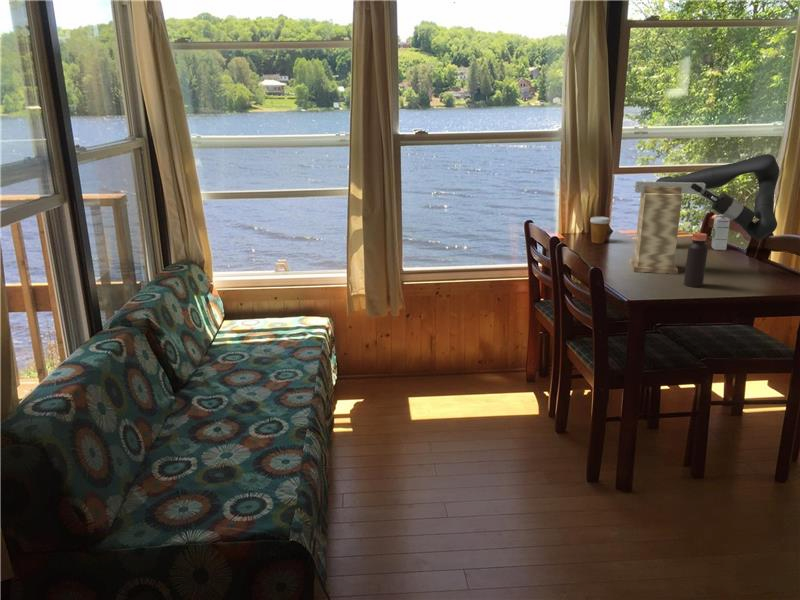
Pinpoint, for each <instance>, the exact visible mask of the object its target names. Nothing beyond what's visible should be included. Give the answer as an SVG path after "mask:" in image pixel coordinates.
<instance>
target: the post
mask: <svg viewBox="0 0 800 600" xmlns="http://www.w3.org/2000/svg"><path fill="white" fill-rule="evenodd" d="M681 192H682V187H645V189H644V193H640V199H639V209H638V216H637V217H638V219H637V226H636V227H637V228H636V234H635V235H636V237H635V247H634V257H633V258H629V262H628V263H629V265H630V267H631V269H632V271H633V273H644V272H651V273H650V274H666V273H669V274H670V275H672V274H673V275H678V273H679V269H678V267H677V266H676V264H675V260H676V259H675V258H676V251H677V243H678V234H679V225H680V219H681V209H682V202H683V194H681ZM669 274H668V275H669Z"/></svg>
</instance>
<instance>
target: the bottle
mask: <svg viewBox="0 0 800 600" xmlns="http://www.w3.org/2000/svg"><path fill="white" fill-rule="evenodd" d="M707 237H708V234H707V233H704V232H693V233H692V239H691V240H692V243H691V244H689V245H688V247H687V248H688V249H687V255H686V257H687V258H686V263H685V271H684V279H683V284H684V285H685V286H687V287H690V286H691V288H701V287H703V286H704V280H705V279H704V278H705V271H706V266H707V265H706V264H707V257H708V246H707V245H706V242H707Z"/></svg>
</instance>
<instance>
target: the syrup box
mask: <svg viewBox="0 0 800 600" xmlns="http://www.w3.org/2000/svg"><path fill="white" fill-rule="evenodd" d="M730 223H731V219H728V218H726V217H725V216H721V217H720V216H717V217H714V219H713V226H712V235H711V245H710V248H711V249H712V250H717V251H718V250H720V251H726V250H727V246H728V245H727V244H728V237H729V230H730Z"/></svg>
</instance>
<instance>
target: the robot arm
mask: <svg viewBox="0 0 800 600" xmlns="http://www.w3.org/2000/svg"><path fill="white" fill-rule="evenodd" d="M751 173H754V176H755V178H756V180H757V183H758V193H757V194H756V197H755V200H754V208H753V210H751V209H750V208H749V207H747V206H745V205H743V204H742V203H741V202H739V201H738V200H737V199H735V198H733V197H732V196H730V195H728V194H727V193H726V192H722V193H721V194H719V195H718V194H717V193H715V192H714V191H711V190H712V189H717V188H721V187H724V186H726V185H728V184H729V183H730V182H732V181H733V180H734V179H735V178H738V177H739V176H741V175H742V176H743V175H746V174H751ZM779 176H780V166H779V164H778V162H777V159H776V157H775V156H774V155H772V154H769V153H766V154H760V155H756V156H753V157H748V158H746V159H742V160H740V161H739V160H738V161H735V162H730V163H726V164H722V165H717V166H712V167H707V168H703V169H699V170H696V171H693V172H689V173H687V174H684V175H679V176H669V175H668V176H663V177H660V178H658V179H656V181H655V182H694V183H693V185H692V186H691V188H692V189H693V190H695V191H697V192H698V193H699V194H698V195H700V197H702V198H704V199H705V200H706V201H707V202H709V203H711V204H712V205H711V209H712V210H713V211H715V212H716V213H718V214H720V215H721V216H722V217H725V218H728V219H729V220H730V221H733V222H734V223H736V224H737V225H739V226H741V228H742V229H743V230H744V231H745V232H746V233H747V234H748V235H749V236H750V238H752V239H754V240H759V241H760V240H763V239H765V238H766V237H767V236H769V235H771V234H772V233H774V232H775V231H776V230H777V227H778V220H777V218H776V215H775V212H774V208H775V192H776V187H777V183H778V180H779ZM695 183H705V184H706V185H705V189H704V188H702V187H700V186H698V185H697V184H695ZM754 218H755V219H756V220H757V221H756V222H755V221H753V220H754Z"/></svg>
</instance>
